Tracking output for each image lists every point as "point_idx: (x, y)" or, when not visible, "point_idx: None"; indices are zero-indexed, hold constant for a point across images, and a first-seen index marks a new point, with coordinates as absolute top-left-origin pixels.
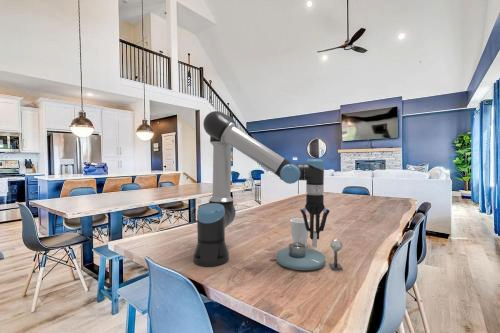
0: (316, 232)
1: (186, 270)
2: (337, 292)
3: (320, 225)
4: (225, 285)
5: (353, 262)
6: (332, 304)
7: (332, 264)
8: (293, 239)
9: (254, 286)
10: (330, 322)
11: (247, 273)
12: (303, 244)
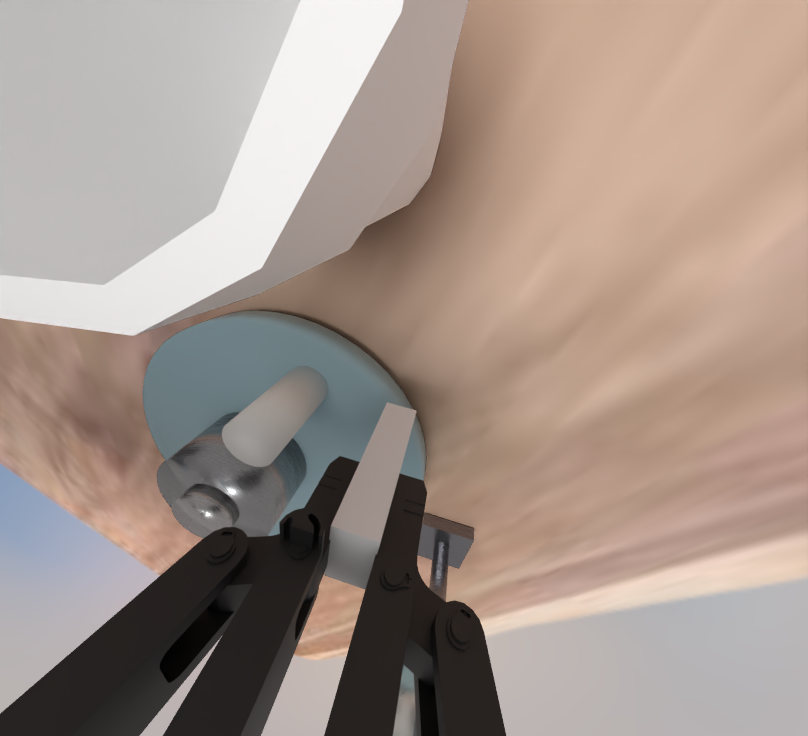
0: (367, 580)
1: None
2: (357, 616)
3: (438, 719)
4: (65, 495)
5: (589, 527)
6: (323, 631)
7: (433, 535)
8: (243, 138)
9: (141, 524)
10: (299, 649)
11: (94, 456)
12: (260, 502)
